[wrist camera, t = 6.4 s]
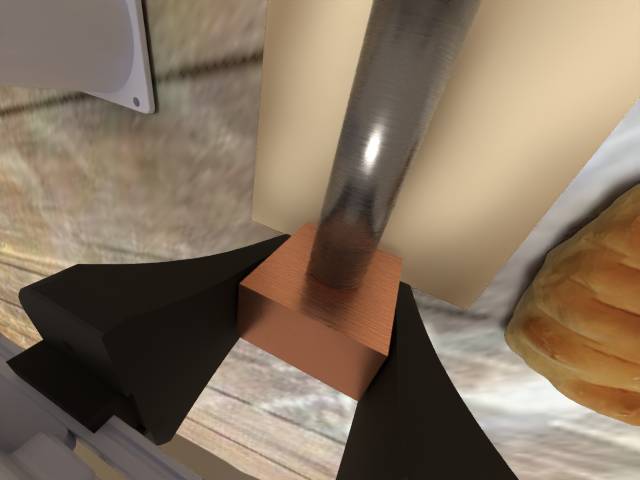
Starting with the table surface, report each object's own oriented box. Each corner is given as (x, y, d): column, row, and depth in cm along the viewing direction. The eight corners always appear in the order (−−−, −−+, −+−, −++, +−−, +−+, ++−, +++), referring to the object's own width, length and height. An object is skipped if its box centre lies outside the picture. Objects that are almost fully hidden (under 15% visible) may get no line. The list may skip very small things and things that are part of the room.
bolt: (298, 263, 12) (236, 335, 8) (360, -19, 7) (266, -214, 3) (382, 299, 11) (358, 401, 7) (531, 8, 6) (762, -225, 2)
